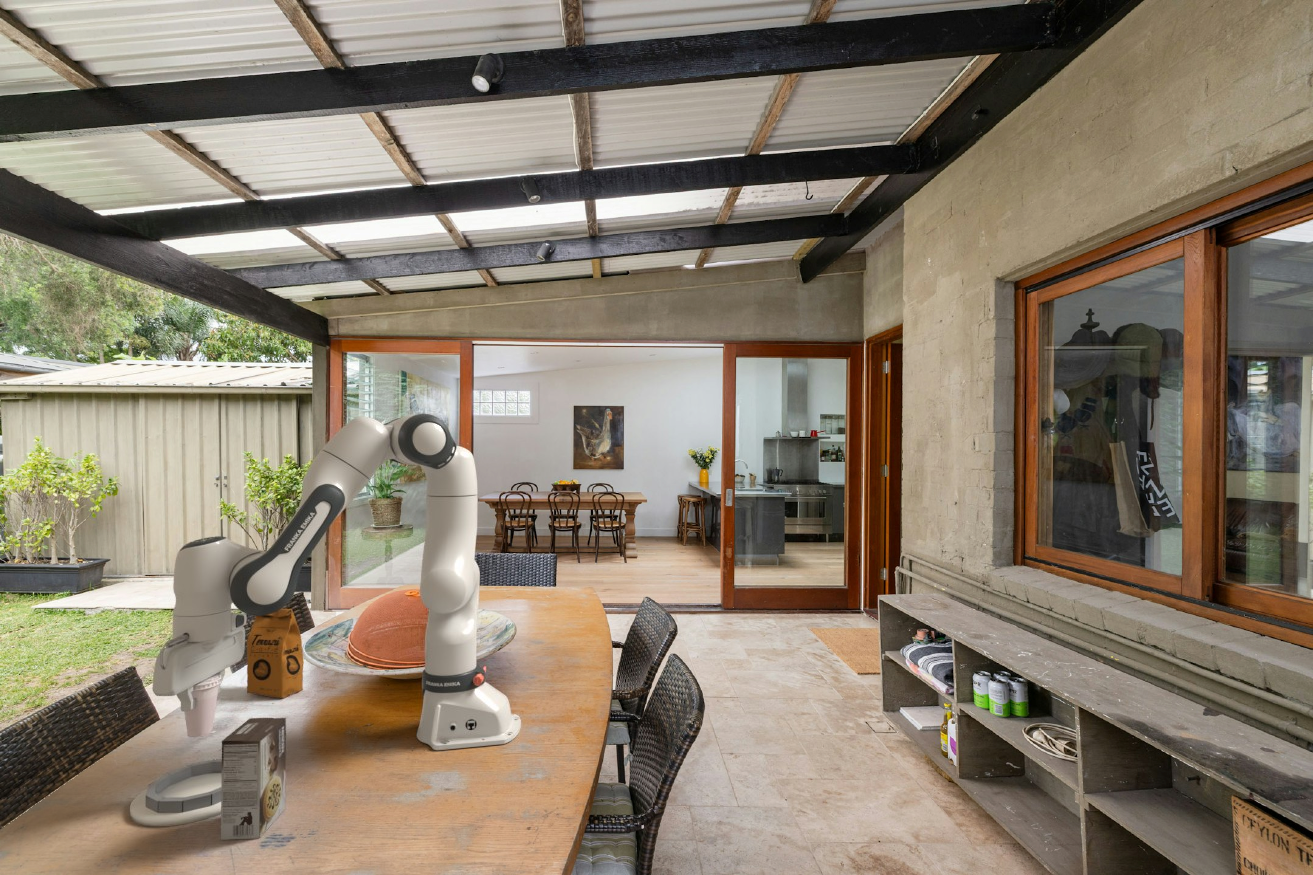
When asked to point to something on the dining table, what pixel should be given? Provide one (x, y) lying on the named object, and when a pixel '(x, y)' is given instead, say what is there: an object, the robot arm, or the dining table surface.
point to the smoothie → (203, 707)
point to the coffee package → (275, 655)
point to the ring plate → (181, 796)
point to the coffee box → (253, 778)
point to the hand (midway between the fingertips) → (201, 702)
